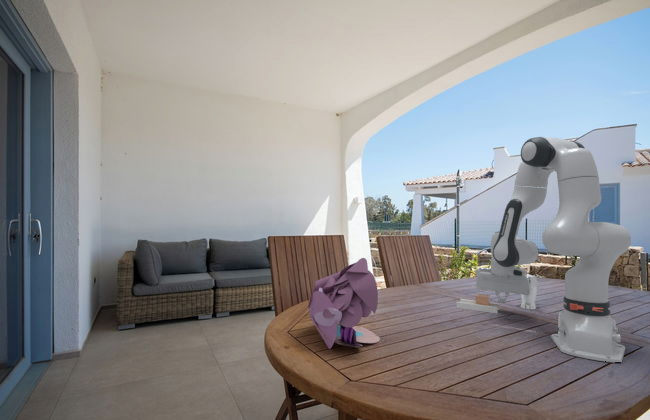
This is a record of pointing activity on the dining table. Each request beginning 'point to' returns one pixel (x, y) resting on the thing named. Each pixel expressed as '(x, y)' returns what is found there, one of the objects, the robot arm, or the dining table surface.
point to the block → (483, 299)
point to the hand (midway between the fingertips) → (502, 302)
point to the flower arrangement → (345, 305)
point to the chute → (478, 306)
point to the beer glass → (529, 299)
